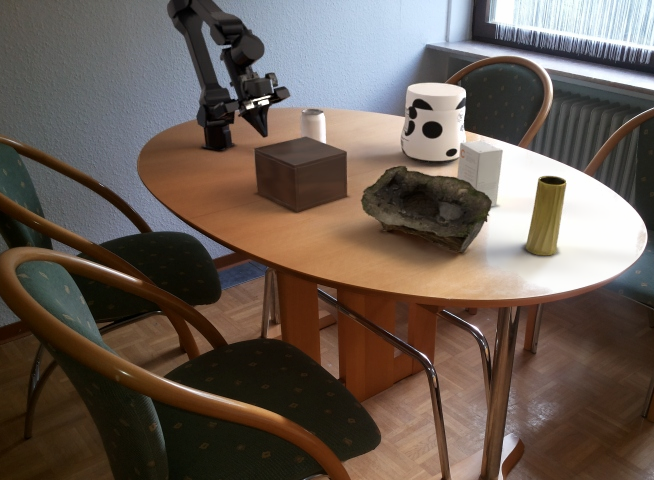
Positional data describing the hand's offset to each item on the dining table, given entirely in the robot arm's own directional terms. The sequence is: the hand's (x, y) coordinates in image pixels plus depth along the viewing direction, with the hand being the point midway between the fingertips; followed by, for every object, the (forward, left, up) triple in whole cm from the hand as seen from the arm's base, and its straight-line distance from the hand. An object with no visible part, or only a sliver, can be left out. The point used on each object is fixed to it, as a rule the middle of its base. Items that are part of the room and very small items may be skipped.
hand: (265, 137), depth 156 cm
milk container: (+33, +30, -9) cm, 45 cm away
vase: (+72, -13, -9) cm, 73 cm away
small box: (+53, +5, -9) cm, 54 cm away
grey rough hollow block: (+50, -20, -9) cm, 54 cm away
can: (+5, +15, -9) cm, 18 cm away
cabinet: (+16, -10, -9) cm, 20 cm away
